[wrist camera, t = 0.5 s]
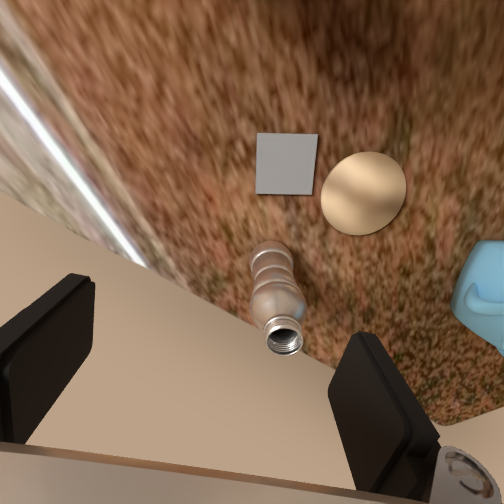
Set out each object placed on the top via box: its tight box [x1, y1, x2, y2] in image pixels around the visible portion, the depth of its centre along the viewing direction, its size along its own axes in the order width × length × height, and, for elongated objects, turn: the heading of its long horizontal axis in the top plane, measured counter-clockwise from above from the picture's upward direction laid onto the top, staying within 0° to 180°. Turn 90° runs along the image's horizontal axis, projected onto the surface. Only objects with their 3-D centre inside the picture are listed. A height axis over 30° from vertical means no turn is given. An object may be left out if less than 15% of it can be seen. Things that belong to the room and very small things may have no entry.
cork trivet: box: [320, 152, 406, 235], centre depth 42 cm, size 12×12×1 cm
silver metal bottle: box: [249, 241, 307, 356], centre depth 37 cm, size 6×7×20 cm
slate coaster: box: [256, 133, 318, 195], centre depth 41 cm, size 8×8×1 cm
